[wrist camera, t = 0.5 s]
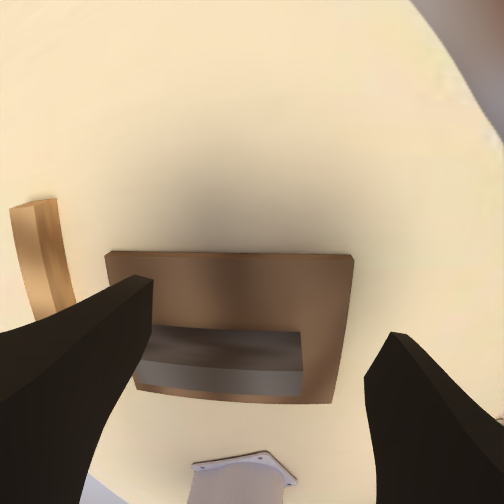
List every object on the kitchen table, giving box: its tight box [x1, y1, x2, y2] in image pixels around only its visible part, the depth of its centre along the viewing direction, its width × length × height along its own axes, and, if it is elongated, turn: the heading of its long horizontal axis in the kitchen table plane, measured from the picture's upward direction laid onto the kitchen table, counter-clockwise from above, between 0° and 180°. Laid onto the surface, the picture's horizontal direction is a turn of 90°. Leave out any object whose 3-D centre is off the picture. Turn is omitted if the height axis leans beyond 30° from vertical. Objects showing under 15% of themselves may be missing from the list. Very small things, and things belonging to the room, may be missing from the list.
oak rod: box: [9, 199, 76, 321], centre depth 21 cm, size 20×3×3 cm, turn 1°
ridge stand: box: [104, 251, 354, 404], centre depth 19 cm, size 16×12×5 cm
